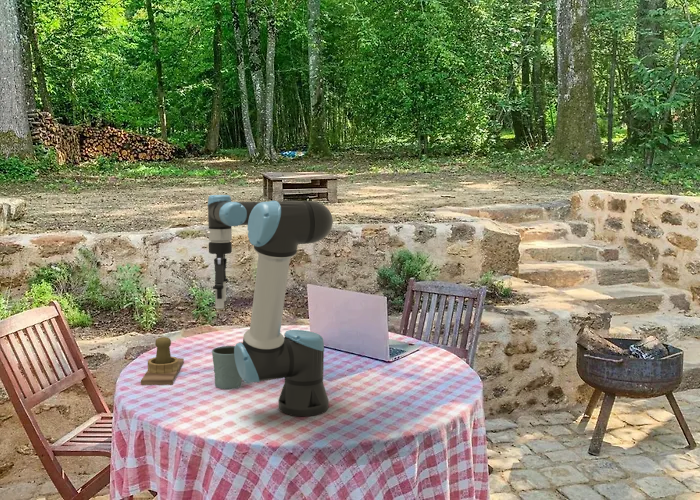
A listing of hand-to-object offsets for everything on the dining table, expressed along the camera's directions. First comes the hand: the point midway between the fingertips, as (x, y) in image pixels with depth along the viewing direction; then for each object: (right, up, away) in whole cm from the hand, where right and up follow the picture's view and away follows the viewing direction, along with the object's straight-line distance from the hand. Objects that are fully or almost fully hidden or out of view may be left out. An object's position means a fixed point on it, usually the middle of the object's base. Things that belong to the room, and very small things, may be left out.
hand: (221, 304), depth 218 cm
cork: (-21, -23, +7) cm, 32 cm away
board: (-21, -24, +7) cm, 33 cm away
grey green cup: (+3, -26, -3) cm, 27 cm away
